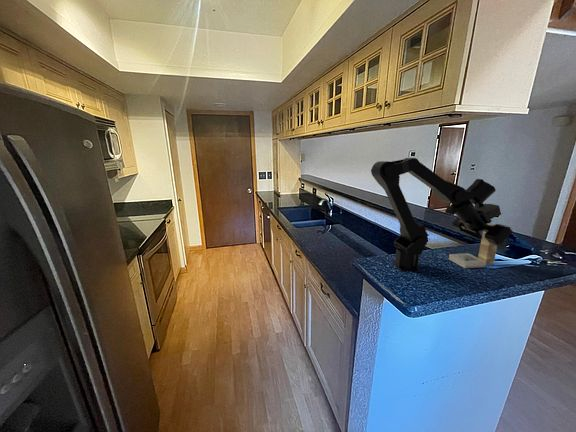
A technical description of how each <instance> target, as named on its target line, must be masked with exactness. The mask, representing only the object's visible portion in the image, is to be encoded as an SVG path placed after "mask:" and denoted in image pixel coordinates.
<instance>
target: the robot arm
mask: <svg viewBox="0 0 576 432" xmlns="http://www.w3.org/2000/svg"><path fill="white" fill-rule="evenodd" d="M370 173H371V175H372V177H373V178H374V180H375V182H376V183H377V184H378V185H379V186H380V187H382V189H383V190H384V192H385V194H386V196H387V199H388V201H389V203H390V205H391V207H392V210H393V211H394V214H395V216H396V218H397V221H398V223H399V233H400V234H399V236H398V237H397V238H396V239H395V240H394V241H393V244H394V246H395V248H396V251H395V260H394V261H392V264H393V265H394V266H395V267H396V268H398V269H399V271H419V270H420V268H419V267H418V266H419V260H420V255H422V253H423V251H424V249H425V247H426V246H427V243H428V242H429V236H430V234H428V231H427V229H426V226H425V225H424V224H421V223H420V222H417V221H416V220H415V218H414V216H413V214H412V211H411V209H410V207H409V205H408V202H407V201H406V197H405V195H404V193H403V191H402V189H401V186H400V176H401V175H405V174H407V173H408V174H410V175H411V176H412V177H414V178H416V179H417V180H419V181H420V182H421V183H423V184H424V185H426V186H427V187H428V188H429V189H430V190H431V191H432V193H433V194H434V195H435V197H436V198H437V199H438V200H440V202H445V203H449V204H450V205H446V209H445V211H444V213H445V214H448V215H451V216H454V215H455V216H457V218H455V219H454V221H453V222H452V223H451V224H452V227H453V228H454V229H456V230H457V231H459V232H462V233H463V234H466V235H468V236H470V237H473V238H475V239H477V240H479V241H480V240H481V239H482V235H481V233H480V232H483V231H485V232H487V233H485V238H486V240H488V242H490V243H492V244H494V245H496V246H497V248H498V247H499V248H501V249H505V248H506V247H507V246H506V239H507V238H508V237H510V236H511V235H512V234H514V231H513V229H512V228H511V227H510V226H509V225H505V224H500V223H496V224H494V226H490V225H487V224H492V222H493V220H492V219H494V218H496V217H499V216H501V215H502V212H501V208H500V205H498V204H493V203H484V202H485V201H487V200H488V198H489V197H491V196H492V195H493V194H494V193H495V192H496V190H497V189H496V187H495V186H493V185H492V184H490V183H488V182H486V181H485V180H484V179H481V178H476V179H475V180H474V181H473V182H472V184H471V185H469V187H467V189H465V188H464V187H462V186H460V185H458V184H456V183H453V182H449V181H447V180H445V179H444V178H443V177H441V176H440V175H438V174H437V173H436V172H434V171H433V170H431V169H430V168H429V167H427V166H426V165H424V164H423V163H422V162H420V160H419V159H418V158H416V157H405V158H403V159H398V160H392V161H382V160H381V161H380V160H379V161H376V162H375V163H374V164H373V165H372V167H371V170H370Z"/></svg>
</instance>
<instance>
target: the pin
mask: <svg viewBox="0 0 576 432" xmlns="http://www.w3.org/2000/svg"><path fill="white" fill-rule="evenodd" d="M487 225H490V226H494V225H495V224H493V223H489V224H487ZM485 233H487V232H485V231H482V235H481V236H482V239H480V240H481V241H480V246H479V249H478V255H477V258H479V259H481V260H483V261H486V266H487V265H489V266H490V265H494V262H495V258H496V255H497V248H498V246H496V245H494V244H492V243H490V242H488V240H486V238H485Z"/></svg>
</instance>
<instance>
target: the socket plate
mask: <svg viewBox="0 0 576 432" xmlns="http://www.w3.org/2000/svg"><path fill="white" fill-rule="evenodd" d="M448 260H449V261H451V262H453V263H455V264H456V265H459V266H460V267H462V268H464V269H477V268H479V269H480V268H486V266H487V265H486V261H483V260H481V259H479V258H478V256H474V255H473V254H471V253H469V252H468V253H467V252H466V253H449V255H448Z"/></svg>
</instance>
